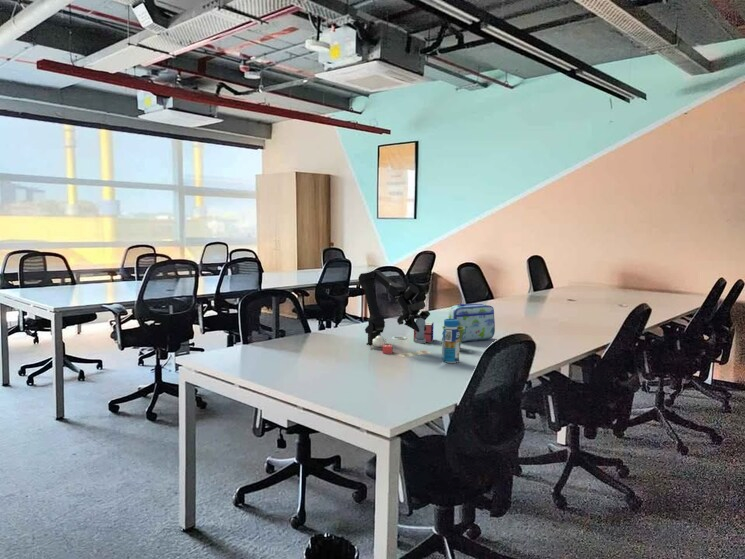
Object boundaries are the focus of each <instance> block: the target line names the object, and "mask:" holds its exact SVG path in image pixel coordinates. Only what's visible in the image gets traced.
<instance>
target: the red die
mask: <svg viewBox="0 0 745 559" xmlns="http://www.w3.org/2000/svg"><path fill="white" fill-rule="evenodd" d="M382 354H388V355H389V354H393V344H386V345H383V350H382Z"/></svg>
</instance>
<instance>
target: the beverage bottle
mask: <svg viewBox="0 0 745 559" xmlns="http://www.w3.org/2000/svg"><path fill="white" fill-rule="evenodd" d="M458 325H459V321H458V320H457V319H449V318H446V319H444V321H443V326H444V327H445V329H444V330H442V333H441V334H442V338H441V360H442V362H443V363H445V362H447V364H457V363H458V362H460V349H459V346H460V347H461V345H460V338H459V336H460V333H459V330H458V329H457V327H458ZM456 362H457V363H456Z"/></svg>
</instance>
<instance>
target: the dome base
mask: <svg viewBox="0 0 745 559" xmlns="http://www.w3.org/2000/svg"><path fill="white" fill-rule="evenodd" d="M372 350H376V351H383V347H375V346H373V345H370V351H372Z"/></svg>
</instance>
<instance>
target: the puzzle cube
mask: <svg viewBox="0 0 745 559" xmlns="http://www.w3.org/2000/svg"><path fill="white" fill-rule="evenodd" d="M434 325H435V324H434V322H433V321H425V326H426V331H424V339H426V342H433V341H434ZM415 338H416V331H415V330H414V329H413V340H414V339H415ZM432 340H433V341H432Z"/></svg>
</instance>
